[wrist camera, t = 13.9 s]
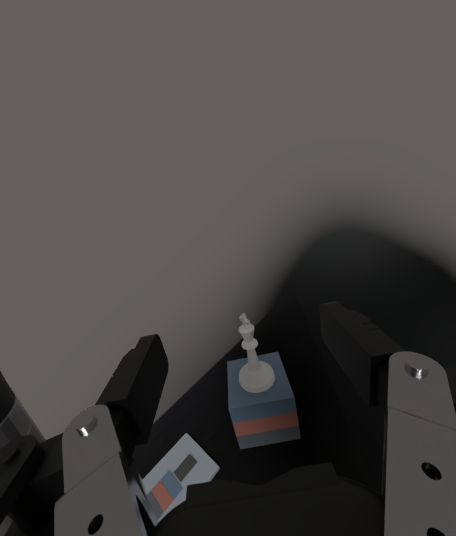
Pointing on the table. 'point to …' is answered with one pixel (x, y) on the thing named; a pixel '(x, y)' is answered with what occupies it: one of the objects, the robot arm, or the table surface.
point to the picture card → (177, 475)
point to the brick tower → (262, 407)
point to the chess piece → (253, 363)
